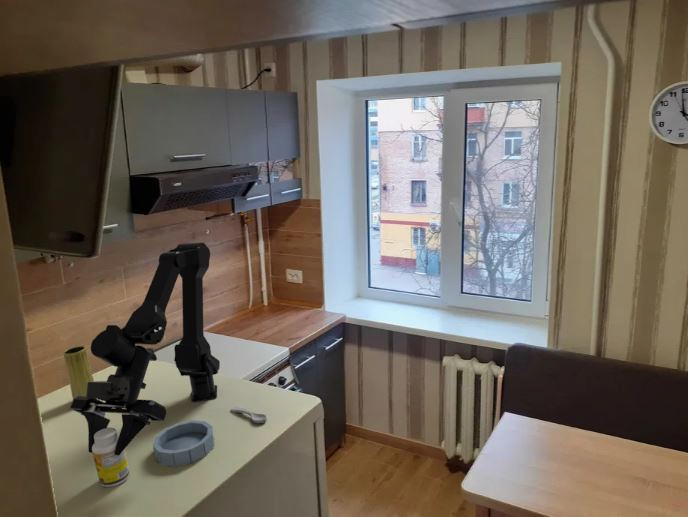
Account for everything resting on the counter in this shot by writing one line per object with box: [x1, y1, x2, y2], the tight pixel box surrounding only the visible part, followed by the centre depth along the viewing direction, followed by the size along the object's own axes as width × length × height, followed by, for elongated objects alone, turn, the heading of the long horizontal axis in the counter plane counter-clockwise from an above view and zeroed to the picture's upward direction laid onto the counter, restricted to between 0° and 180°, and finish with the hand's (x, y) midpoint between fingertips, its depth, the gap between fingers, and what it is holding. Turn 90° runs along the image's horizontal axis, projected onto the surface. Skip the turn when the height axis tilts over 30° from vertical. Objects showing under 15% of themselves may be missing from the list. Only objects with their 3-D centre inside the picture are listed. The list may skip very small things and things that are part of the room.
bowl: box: [152, 419, 216, 467], centre depth 110 cm, size 12×12×3 cm
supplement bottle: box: [92, 427, 130, 488], centre depth 101 cm, size 6×6×10 cm
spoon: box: [229, 406, 268, 425], centre depth 122 cm, size 3×12×2 cm, turn 49°
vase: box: [62, 345, 97, 400], centre depth 136 cm, size 6×6×14 cm
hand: (103, 453), depth 100 cm, fingers closed on supplement bottle, 6 cm apart
